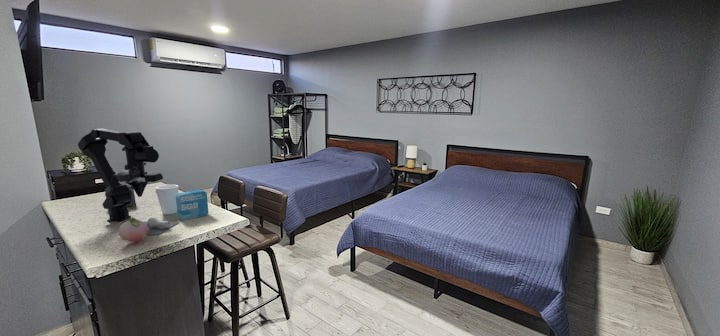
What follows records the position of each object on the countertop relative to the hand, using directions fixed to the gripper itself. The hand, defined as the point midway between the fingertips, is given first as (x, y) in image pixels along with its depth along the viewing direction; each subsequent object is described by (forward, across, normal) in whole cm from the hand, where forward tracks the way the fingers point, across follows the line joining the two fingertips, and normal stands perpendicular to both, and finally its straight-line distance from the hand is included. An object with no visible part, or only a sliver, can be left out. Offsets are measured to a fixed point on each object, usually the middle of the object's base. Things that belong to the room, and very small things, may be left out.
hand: (140, 196), depth 131 cm
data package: (+12, +18, +8) cm, 23 cm away
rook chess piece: (+9, +8, -7) cm, 14 cm away
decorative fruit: (+12, +12, -21) cm, 27 cm away
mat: (+12, +8, -7) cm, 16 cm away
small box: (+12, -27, +22) cm, 37 cm away
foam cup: (+12, +3, +14) cm, 19 cm away
